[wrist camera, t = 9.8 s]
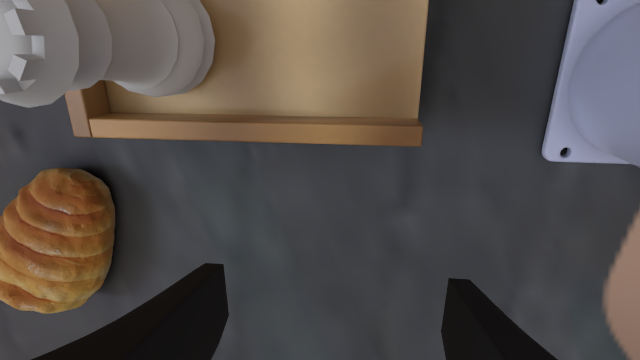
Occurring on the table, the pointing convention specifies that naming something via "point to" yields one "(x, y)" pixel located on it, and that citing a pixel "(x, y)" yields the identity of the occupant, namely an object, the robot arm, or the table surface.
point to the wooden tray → (284, 79)
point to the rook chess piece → (101, 47)
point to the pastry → (56, 241)
